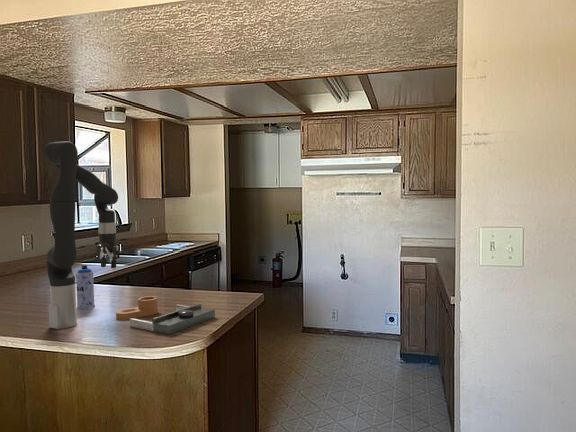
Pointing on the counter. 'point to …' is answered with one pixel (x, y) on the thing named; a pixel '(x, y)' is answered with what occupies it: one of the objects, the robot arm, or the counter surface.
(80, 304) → the aerosol can
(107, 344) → the counter surface
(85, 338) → the counter surface
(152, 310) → the bracket
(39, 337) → the counter surface
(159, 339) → the counter surface
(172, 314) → the deck mount
